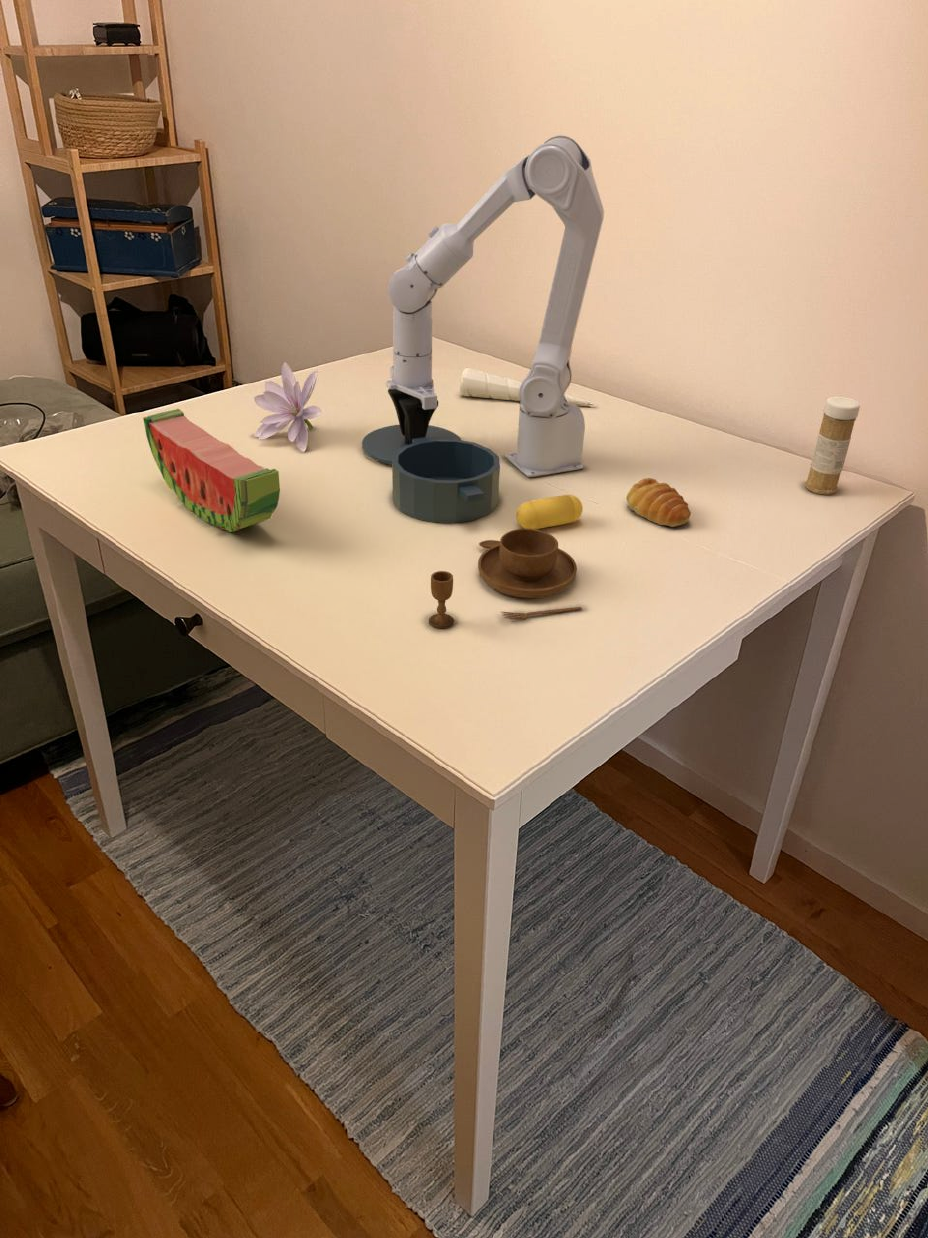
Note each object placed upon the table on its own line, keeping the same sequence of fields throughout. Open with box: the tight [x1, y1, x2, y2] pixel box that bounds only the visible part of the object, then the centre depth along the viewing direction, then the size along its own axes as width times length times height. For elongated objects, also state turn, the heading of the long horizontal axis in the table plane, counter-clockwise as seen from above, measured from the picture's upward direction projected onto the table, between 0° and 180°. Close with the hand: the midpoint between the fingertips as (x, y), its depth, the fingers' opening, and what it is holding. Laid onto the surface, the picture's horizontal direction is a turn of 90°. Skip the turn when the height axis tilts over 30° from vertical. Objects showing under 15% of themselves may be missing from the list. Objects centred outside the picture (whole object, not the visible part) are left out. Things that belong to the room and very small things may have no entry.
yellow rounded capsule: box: [516, 494, 584, 530], centre depth 124 cm, size 9×4×4 cm, turn 114°
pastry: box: [625, 477, 692, 528], centre depth 127 cm, size 9×7×4 cm
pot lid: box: [361, 417, 462, 465], centre depth 143 cm, size 16×16×5 cm
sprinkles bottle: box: [805, 395, 861, 495], centre depth 133 cm, size 5×5×14 cm
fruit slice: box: [142, 408, 281, 533], centre depth 123 cm, size 26×6×10 cm, turn 41°
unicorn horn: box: [459, 367, 595, 407], centre depth 162 cm, size 5×24×5 cm, turn 75°
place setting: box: [428, 528, 583, 630], centre depth 110 cm, size 18×20×6 cm
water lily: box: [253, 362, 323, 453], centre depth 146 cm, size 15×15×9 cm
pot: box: [391, 437, 501, 524], centre depth 129 cm, size 15×20×6 cm
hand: (412, 438), depth 144 cm, fingers open, 3 cm apart
